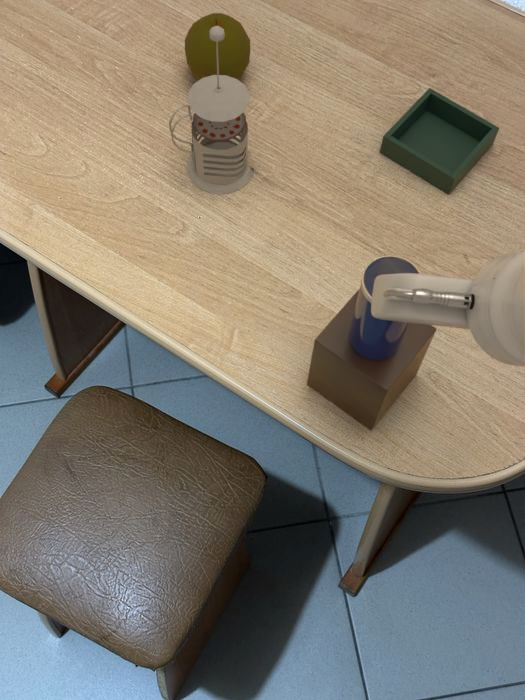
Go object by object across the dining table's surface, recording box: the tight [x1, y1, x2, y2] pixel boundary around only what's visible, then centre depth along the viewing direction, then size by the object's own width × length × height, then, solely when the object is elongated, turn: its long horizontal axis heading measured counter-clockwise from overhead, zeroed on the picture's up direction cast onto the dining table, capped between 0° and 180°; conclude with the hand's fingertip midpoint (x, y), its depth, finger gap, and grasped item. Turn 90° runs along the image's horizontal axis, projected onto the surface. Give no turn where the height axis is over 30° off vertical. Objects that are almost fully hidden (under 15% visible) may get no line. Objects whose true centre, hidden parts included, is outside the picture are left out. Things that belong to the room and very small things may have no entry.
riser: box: [306, 288, 438, 432], centre depth 100 cm, size 10×10×12 cm
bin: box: [379, 87, 500, 196], centre depth 121 cm, size 12×12×4 cm
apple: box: [184, 12, 251, 81], centre depth 124 cm, size 10×10×11 cm
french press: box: [168, 26, 255, 195], centre depth 109 cm, size 10×12×25 cm
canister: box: [349, 254, 422, 361], centre depth 89 cm, size 6×6×12 cm
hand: (465, 310), depth 76 cm, fingers open, 8 cm apart
